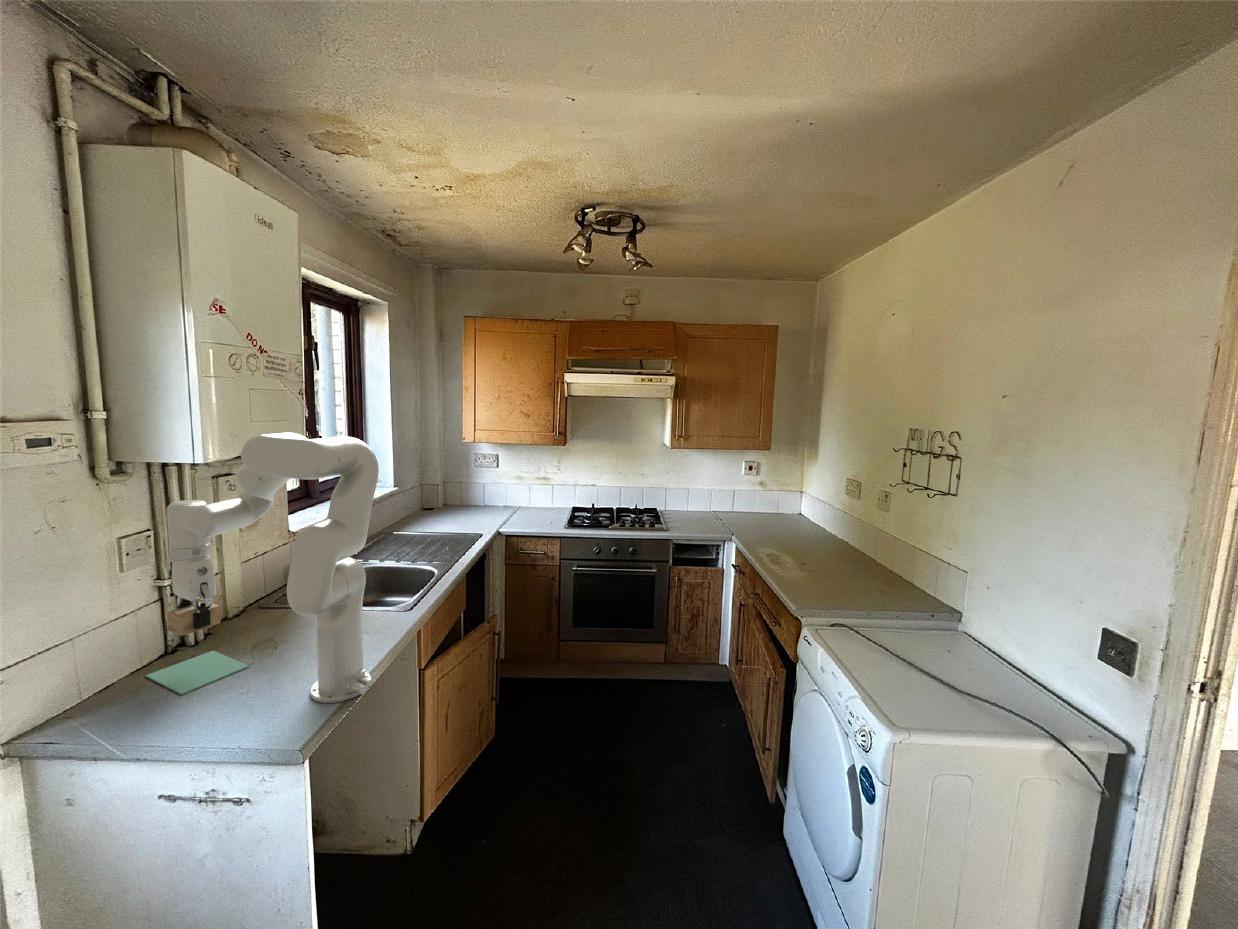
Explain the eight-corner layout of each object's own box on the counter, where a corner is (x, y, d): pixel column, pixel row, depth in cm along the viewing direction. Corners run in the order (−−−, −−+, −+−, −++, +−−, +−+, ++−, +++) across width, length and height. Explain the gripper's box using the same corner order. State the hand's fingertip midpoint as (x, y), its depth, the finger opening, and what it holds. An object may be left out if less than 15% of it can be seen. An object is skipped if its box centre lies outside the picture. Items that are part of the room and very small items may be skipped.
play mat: (248, 667, 126) (248, 665, 126) (181, 695, 114) (181, 693, 114) (213, 651, 133) (213, 650, 133) (146, 676, 120) (145, 675, 120)
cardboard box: (181, 635, 117) (180, 616, 116) (168, 630, 120) (166, 610, 119) (220, 623, 124) (219, 604, 124) (207, 617, 127) (206, 599, 126)
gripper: (229, 554, 119) (232, 625, 122) (189, 542, 127) (193, 610, 129) (191, 562, 113) (195, 638, 115) (152, 549, 120) (157, 621, 122)
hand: (194, 622), depth 122 cm, fingers closed on cardboard box, 5 cm apart
